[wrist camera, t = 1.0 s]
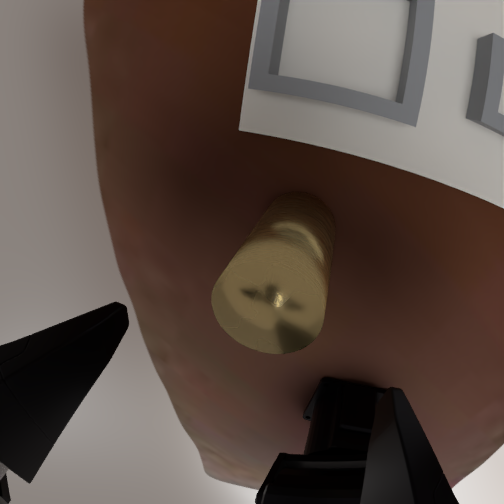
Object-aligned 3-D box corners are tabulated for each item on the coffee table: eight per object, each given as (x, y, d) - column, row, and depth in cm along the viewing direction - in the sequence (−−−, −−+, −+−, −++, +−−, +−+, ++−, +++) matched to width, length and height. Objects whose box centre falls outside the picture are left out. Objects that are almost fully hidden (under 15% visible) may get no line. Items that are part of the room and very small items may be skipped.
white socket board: (527, 216, 13) (550, 237, 10) (244, 128, 16) (224, 134, 13) (560, 44, 7) (586, 41, 4) (273, -59, 10) (259, -82, 7)
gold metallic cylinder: (325, 266, 19) (307, 364, 12) (259, 248, 19) (209, 335, 12) (343, 202, 16) (338, 281, 10) (270, 184, 17) (215, 248, 10)
